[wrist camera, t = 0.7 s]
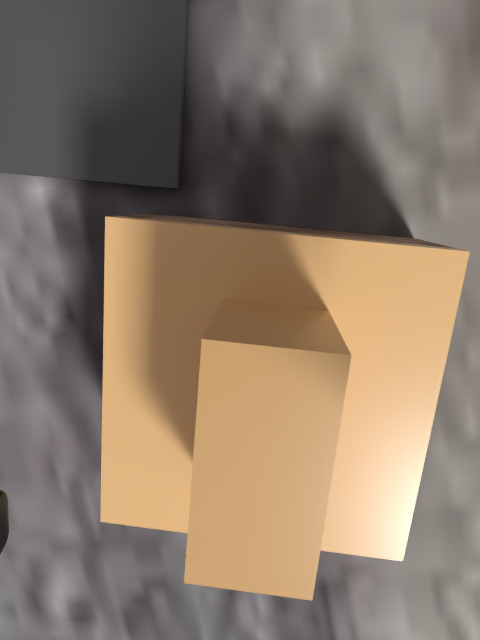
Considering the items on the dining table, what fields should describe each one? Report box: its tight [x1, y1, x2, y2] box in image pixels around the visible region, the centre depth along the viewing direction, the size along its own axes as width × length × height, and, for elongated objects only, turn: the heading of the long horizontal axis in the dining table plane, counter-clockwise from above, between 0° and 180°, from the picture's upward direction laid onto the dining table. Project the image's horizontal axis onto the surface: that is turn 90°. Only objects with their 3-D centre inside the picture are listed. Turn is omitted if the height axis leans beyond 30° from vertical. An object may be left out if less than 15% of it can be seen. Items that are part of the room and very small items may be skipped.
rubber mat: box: [0, 0, 189, 189], centre depth 16 cm, size 10×9×1 cm
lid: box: [101, 216, 470, 600], centre depth 13 cm, size 10×10×6 cm
